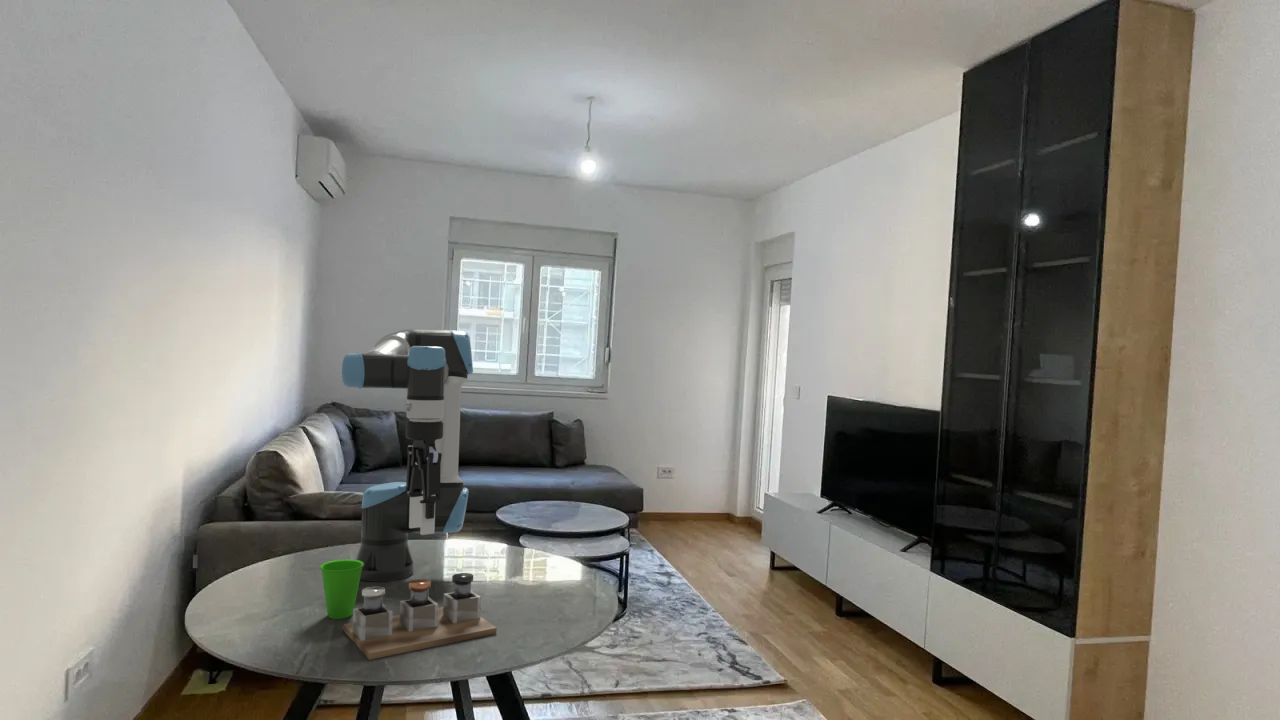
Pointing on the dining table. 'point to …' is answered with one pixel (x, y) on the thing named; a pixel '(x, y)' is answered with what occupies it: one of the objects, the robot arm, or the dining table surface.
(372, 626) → the panel
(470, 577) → the black plunger
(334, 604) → the cup
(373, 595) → the offwhite plunger
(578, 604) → the dining table surface
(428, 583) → the copper domed cylinder
